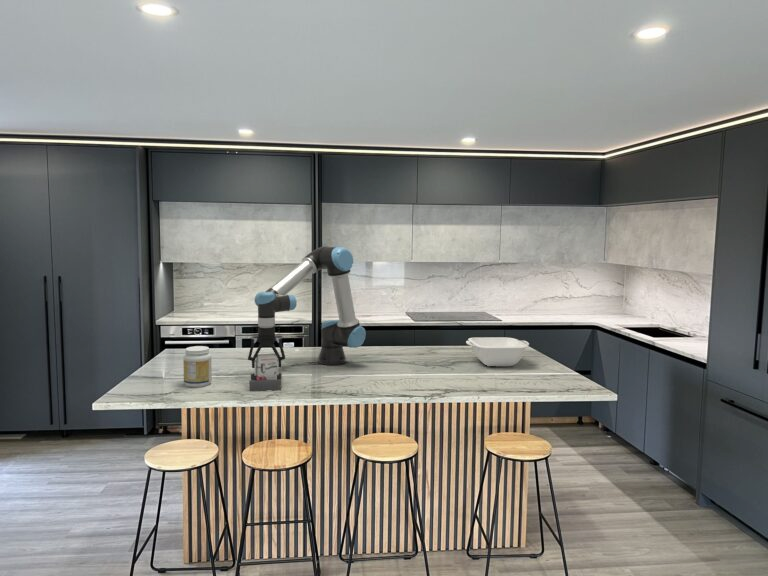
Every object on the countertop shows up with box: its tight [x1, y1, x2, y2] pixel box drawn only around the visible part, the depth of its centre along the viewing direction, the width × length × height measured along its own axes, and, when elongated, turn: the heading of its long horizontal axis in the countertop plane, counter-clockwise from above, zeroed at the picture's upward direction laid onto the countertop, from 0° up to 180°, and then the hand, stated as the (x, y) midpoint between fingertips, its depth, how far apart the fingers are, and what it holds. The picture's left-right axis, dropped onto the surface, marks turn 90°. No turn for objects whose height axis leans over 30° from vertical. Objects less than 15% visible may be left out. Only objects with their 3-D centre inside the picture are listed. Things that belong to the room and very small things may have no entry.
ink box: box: [255, 352, 278, 380], centre depth 262 cm, size 9×5×12 cm, turn 118°
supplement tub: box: [182, 345, 213, 388], centre depth 264 cm, size 12×12×17 cm
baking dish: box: [465, 336, 530, 367], centre depth 315 cm, size 34×28×13 cm
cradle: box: [248, 372, 282, 392], centre depth 263 cm, size 14×14×4 cm
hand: (266, 374), depth 263 cm, fingers closed on ink box, 9 cm apart
